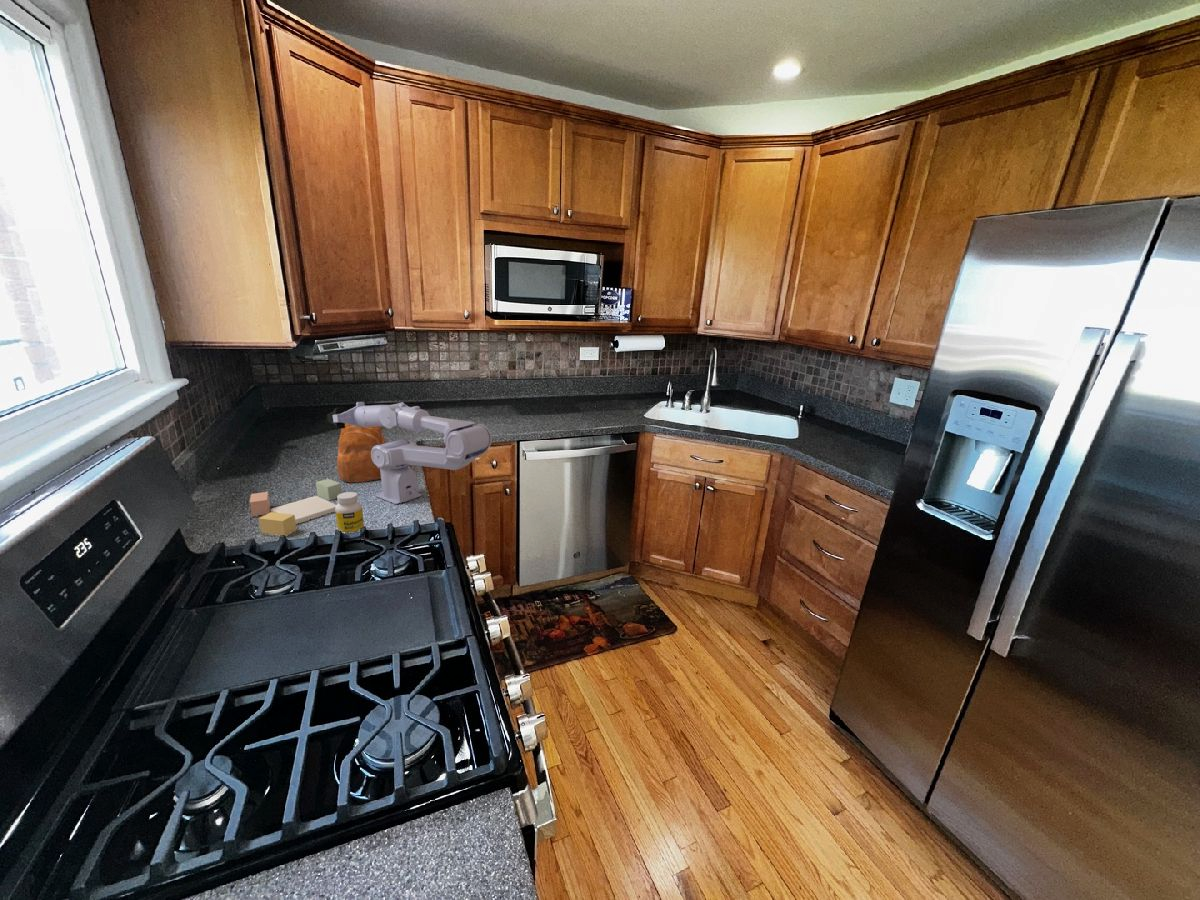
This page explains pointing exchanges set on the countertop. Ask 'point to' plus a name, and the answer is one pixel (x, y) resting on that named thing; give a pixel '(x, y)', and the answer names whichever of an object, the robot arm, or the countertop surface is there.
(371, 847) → the countertop surface
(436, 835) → the countertop surface
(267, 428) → the countertop surface
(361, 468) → the bread
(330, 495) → the sage brick
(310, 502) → the board
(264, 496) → the clay brick
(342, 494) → the supplement bottle
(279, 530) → the mustard brick
